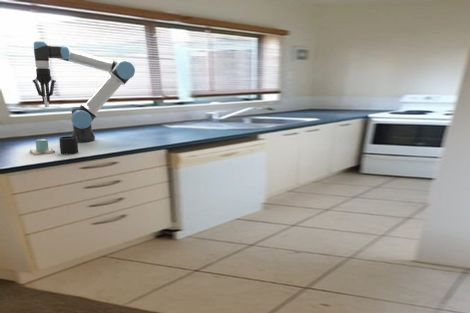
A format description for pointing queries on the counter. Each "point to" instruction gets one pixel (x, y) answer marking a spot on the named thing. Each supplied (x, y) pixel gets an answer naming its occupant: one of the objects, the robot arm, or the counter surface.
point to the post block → (42, 151)
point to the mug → (68, 145)
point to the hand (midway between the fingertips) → (47, 107)
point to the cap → (42, 145)
